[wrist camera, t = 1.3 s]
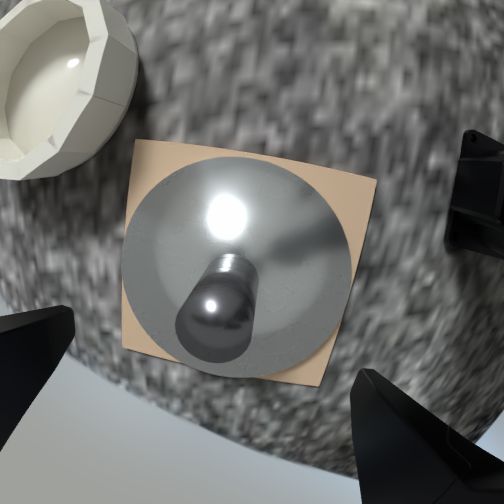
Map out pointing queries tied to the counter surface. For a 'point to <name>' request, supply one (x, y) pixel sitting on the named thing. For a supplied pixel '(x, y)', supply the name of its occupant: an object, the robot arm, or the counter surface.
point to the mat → (320, 178)
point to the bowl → (62, 84)
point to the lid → (236, 267)
